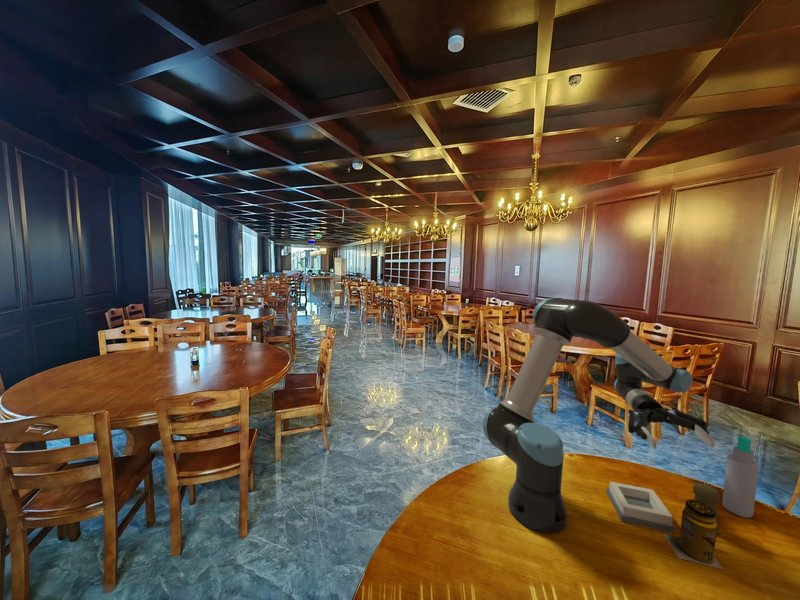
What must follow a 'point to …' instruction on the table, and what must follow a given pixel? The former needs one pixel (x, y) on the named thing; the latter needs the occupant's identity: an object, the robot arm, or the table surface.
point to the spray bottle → (740, 479)
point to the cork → (707, 497)
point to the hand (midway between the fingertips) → (683, 443)
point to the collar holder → (640, 507)
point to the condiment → (696, 534)
